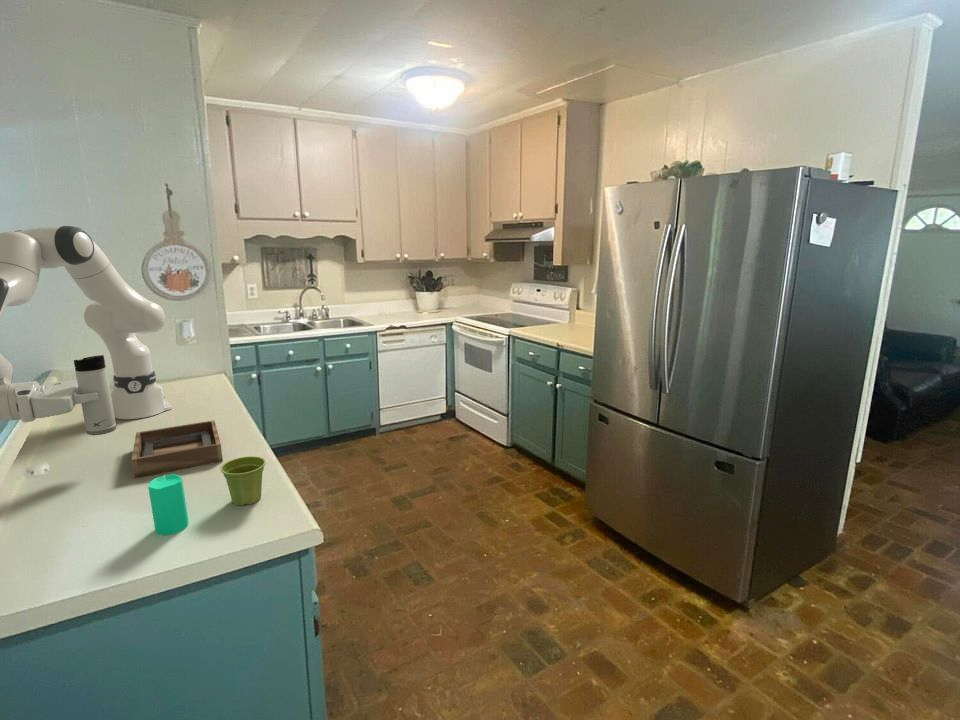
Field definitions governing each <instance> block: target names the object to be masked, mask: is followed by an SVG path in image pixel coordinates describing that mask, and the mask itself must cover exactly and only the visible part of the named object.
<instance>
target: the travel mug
mask: <svg viewBox="0 0 960 720" xmlns="http://www.w3.org/2000/svg"><path fill="white" fill-rule="evenodd" d="M105 363H106V360H105V355H103V354H102V355H93V356H87V357H83V358H81V359H74V360H73V365H74V369H75V377H76V379H77V383H78V389H79V394H86V393H89V392H98V395H99V398H98V399H97V400H92V401H88V402H84V403H81V404H80V405H81V408H82V409H81V410H82V415H83V420H84V426H85V431H86V434H87V435H88V436H101V435H102V436H103V435H106V434H109V433H112V432H115V430H116V429H117V423H116V418H115V417H114V411H113V405H112V399H111V393H112V392H111V387H110V384H109V377H108V372H107V371H108V370H107V366H106V364H105Z"/></svg>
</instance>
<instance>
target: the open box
mask: <svg viewBox="0 0 960 720" xmlns="http://www.w3.org/2000/svg"><path fill="white" fill-rule="evenodd" d="M204 431H209V435H210V440H211V444H212V445H206V446H203V442H202V441H196V442H190V443H185V444H179V445H173V446H167V447H161V448H155V449H154V455H149V456H144V447H145V441H149V440H155V439H161V438H167V437H173V436H179V435H185V434H192V433H198V432H204ZM219 436H220V435H219V432H218V428H217V423H216V421H215V419H214V420H207V421H201V422H194V423H189V424H188V423H187V424H182V425H175V426H168V427H163V428H155V429H149V430H143V431H138V432H135V437H134V438H135V439H134V444H133V450H132V456H131V463H132V470H133V471H132V472H133V476H134V479H139V478H144V477H149V476H155V475H160V474H164V473H165V474H166V473H170V472H176V471H180V470H181V471H182V470H185V469H186V470H187V469H191V468H196V467H202V466H206V465H212V463H213V464H217V462H218V463H222V462H221V461H223V452H222V451H223V450H222V444H221V441H220V440H221V439H220V437H219ZM143 456H144V457H143ZM223 462H224V461H223Z"/></svg>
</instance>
